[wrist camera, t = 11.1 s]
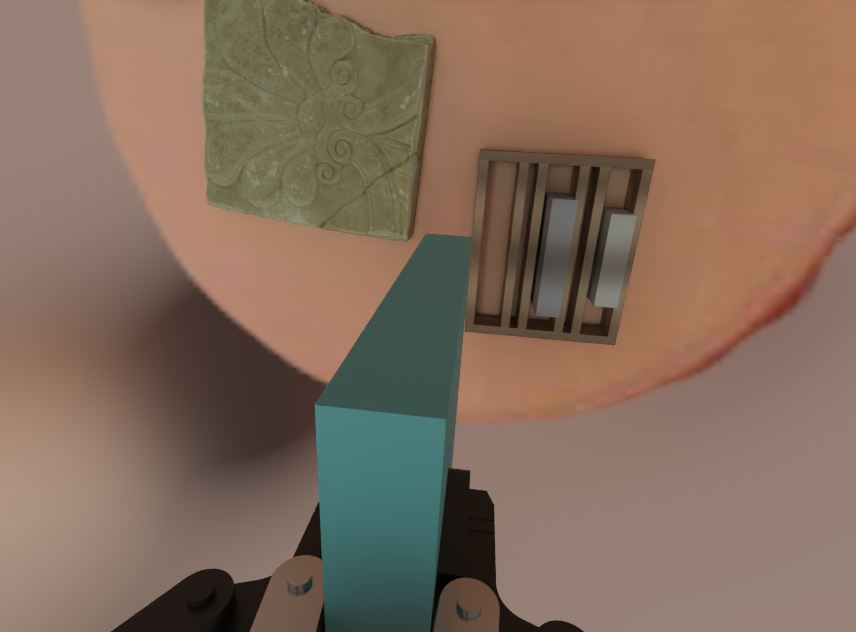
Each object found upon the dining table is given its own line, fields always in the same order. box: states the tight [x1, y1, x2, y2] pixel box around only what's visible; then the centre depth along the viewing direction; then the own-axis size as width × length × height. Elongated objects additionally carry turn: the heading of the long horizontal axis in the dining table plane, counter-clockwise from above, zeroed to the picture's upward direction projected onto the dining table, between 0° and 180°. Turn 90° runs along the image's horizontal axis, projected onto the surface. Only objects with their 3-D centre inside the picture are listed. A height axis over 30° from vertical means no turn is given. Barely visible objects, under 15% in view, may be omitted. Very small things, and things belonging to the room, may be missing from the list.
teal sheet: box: [315, 234, 472, 632], centre depth 15 cm, size 12×2×14 cm, turn 177°
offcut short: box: [587, 207, 637, 308], centre depth 40 cm, size 8×2×5 cm, turn 177°
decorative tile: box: [203, 0, 436, 241], centre depth 40 cm, size 19×20×4 cm
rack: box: [465, 150, 655, 345], centre depth 42 cm, size 17×14×3 cm
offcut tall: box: [530, 192, 579, 318], centre depth 40 cm, size 10×2×6 cm, turn 177°
